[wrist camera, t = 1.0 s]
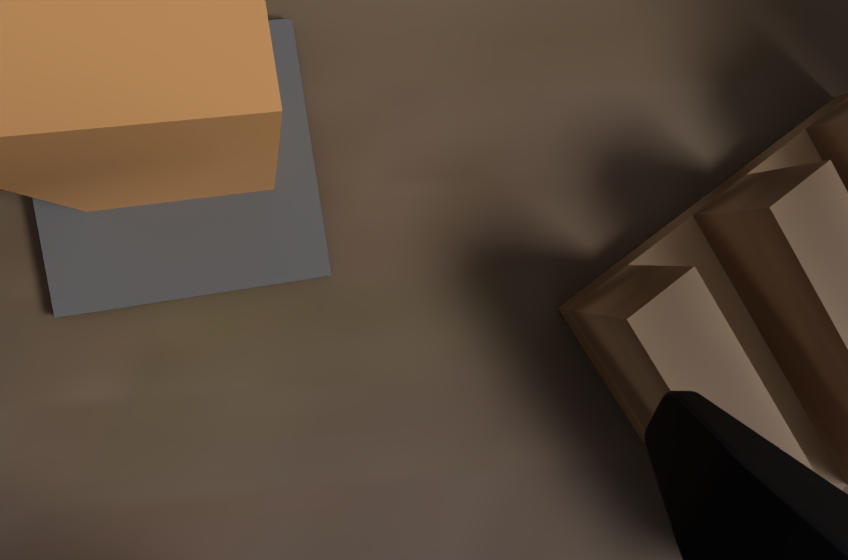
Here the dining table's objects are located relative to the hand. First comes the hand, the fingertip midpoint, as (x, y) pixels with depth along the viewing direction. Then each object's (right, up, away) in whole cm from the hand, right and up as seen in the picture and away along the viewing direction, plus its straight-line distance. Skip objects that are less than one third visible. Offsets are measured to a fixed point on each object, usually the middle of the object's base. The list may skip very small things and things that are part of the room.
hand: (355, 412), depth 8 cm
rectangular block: (-7, +6, +13) cm, 16 cm away
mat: (-7, +6, +13) cm, 16 cm away
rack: (+16, -1, +19) cm, 26 cm away
